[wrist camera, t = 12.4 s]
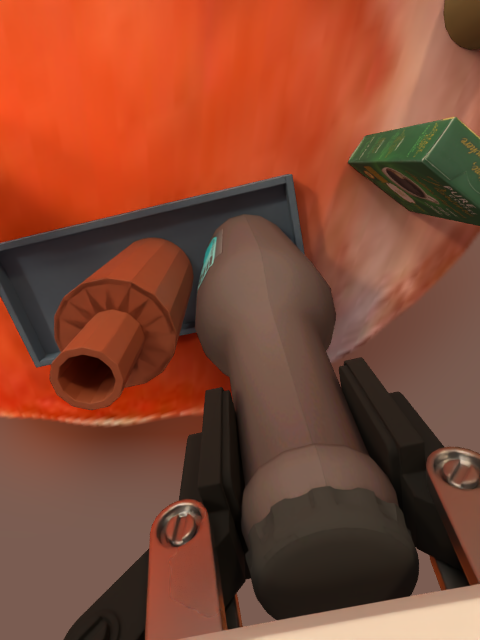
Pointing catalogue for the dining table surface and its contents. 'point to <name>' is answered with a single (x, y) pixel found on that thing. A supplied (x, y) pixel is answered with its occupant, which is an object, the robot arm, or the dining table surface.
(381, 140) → the coffee box
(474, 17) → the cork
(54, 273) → the tray
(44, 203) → the dining table surface
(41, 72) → the dining table surface
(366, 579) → the beer bottle
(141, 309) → the terracotta bottle
